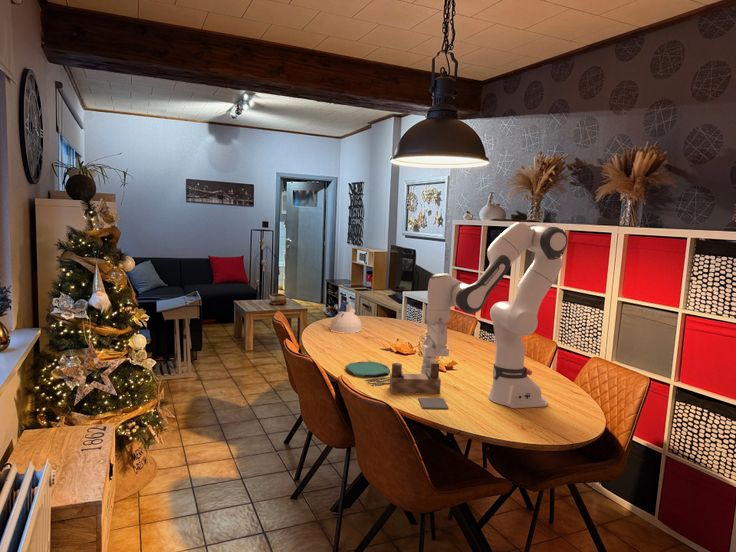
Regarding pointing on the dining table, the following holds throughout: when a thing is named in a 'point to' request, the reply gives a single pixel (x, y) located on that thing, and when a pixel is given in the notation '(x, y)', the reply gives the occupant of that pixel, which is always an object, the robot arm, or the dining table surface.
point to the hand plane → (415, 380)
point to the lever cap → (430, 350)
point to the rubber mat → (433, 403)
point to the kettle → (346, 321)
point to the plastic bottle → (427, 357)
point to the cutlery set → (369, 371)
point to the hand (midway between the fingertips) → (436, 351)
